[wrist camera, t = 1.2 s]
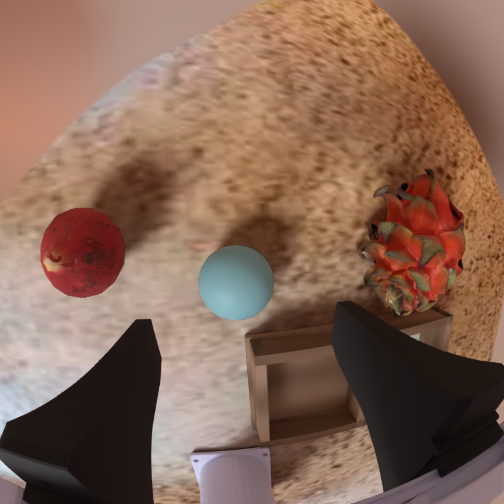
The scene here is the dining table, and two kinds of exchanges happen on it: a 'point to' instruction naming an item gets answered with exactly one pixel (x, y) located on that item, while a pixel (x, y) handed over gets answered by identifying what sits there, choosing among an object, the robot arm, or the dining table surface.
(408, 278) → the dragon fruit
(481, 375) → the robot arm
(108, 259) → the onion
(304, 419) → the divided wooden tray
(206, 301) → the ball
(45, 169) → the dining table surface
